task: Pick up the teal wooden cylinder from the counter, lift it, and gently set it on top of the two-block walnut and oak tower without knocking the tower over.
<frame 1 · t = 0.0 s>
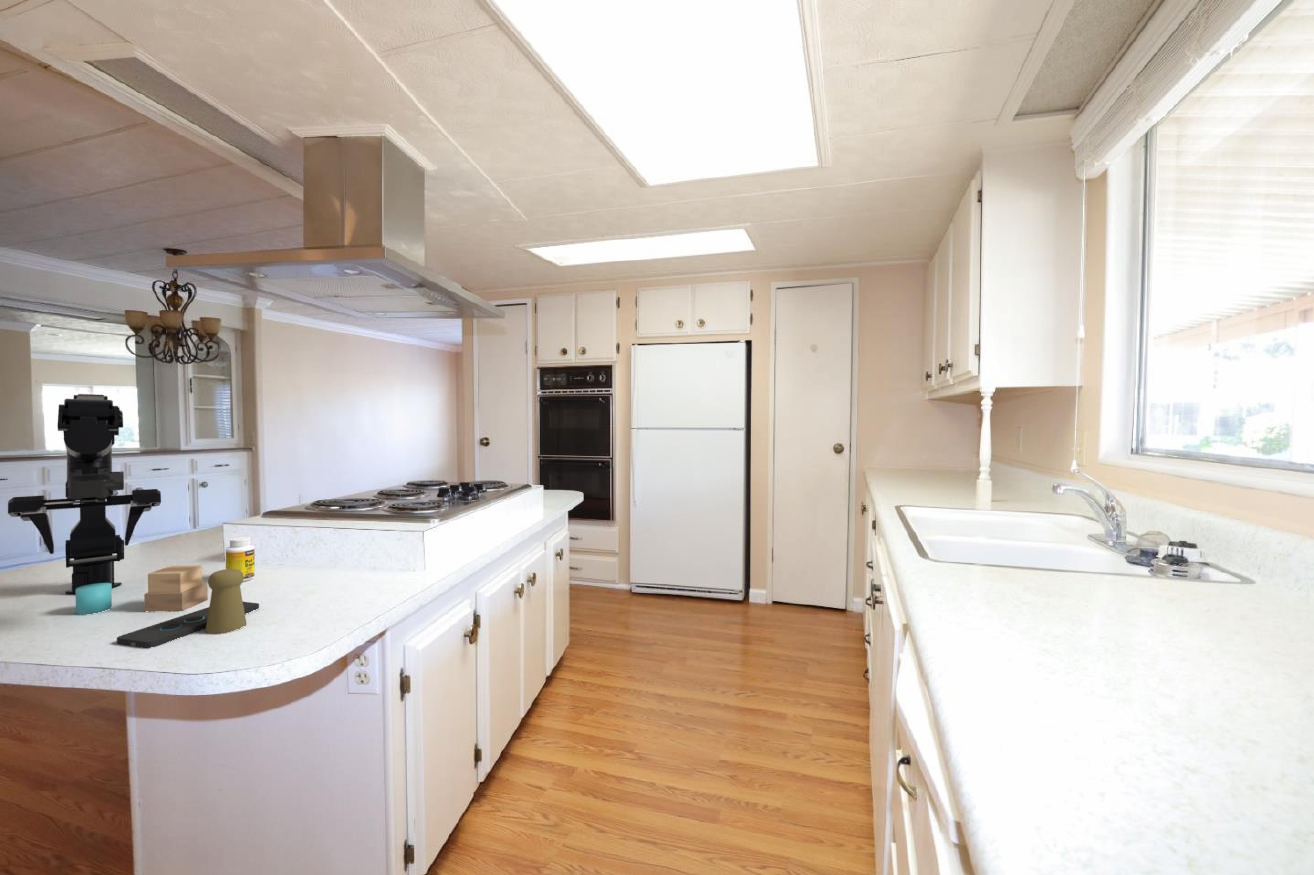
hand: (90, 549, 95), 15 cm above the worktop, tool pointing down, fingers open, 9 cm apart
walnut base block: (177, 607, 111), on the worktop
supplement bottle: (240, 580, 128), on the worktop
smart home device: (194, 628, 101), on the worktop
oak top block: (175, 588, 110), point 4 cm above the worktop
teal cylinder: (94, 610, 107), on the worktop
cork: (226, 628, 100), on the worktop
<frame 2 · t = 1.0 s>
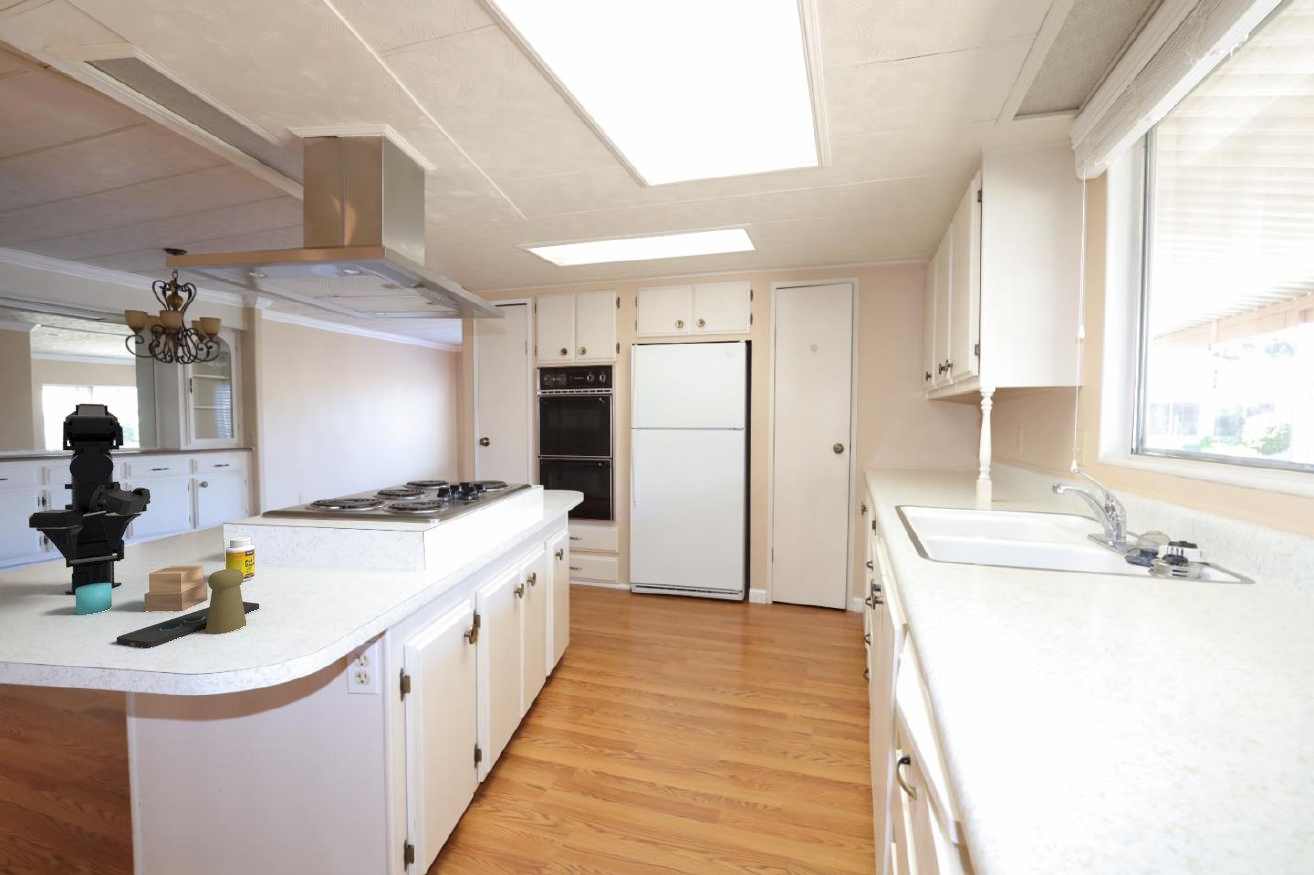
hand: (93, 554, 107), 12 cm above the worktop, tool pointing down, fingers open, 9 cm apart
walnut base block: (177, 607, 111), on the worktop, touching oak top block
oak top block: (177, 588, 110), point 4 cm above the worktop, touching walnut base block
everything else where it was.
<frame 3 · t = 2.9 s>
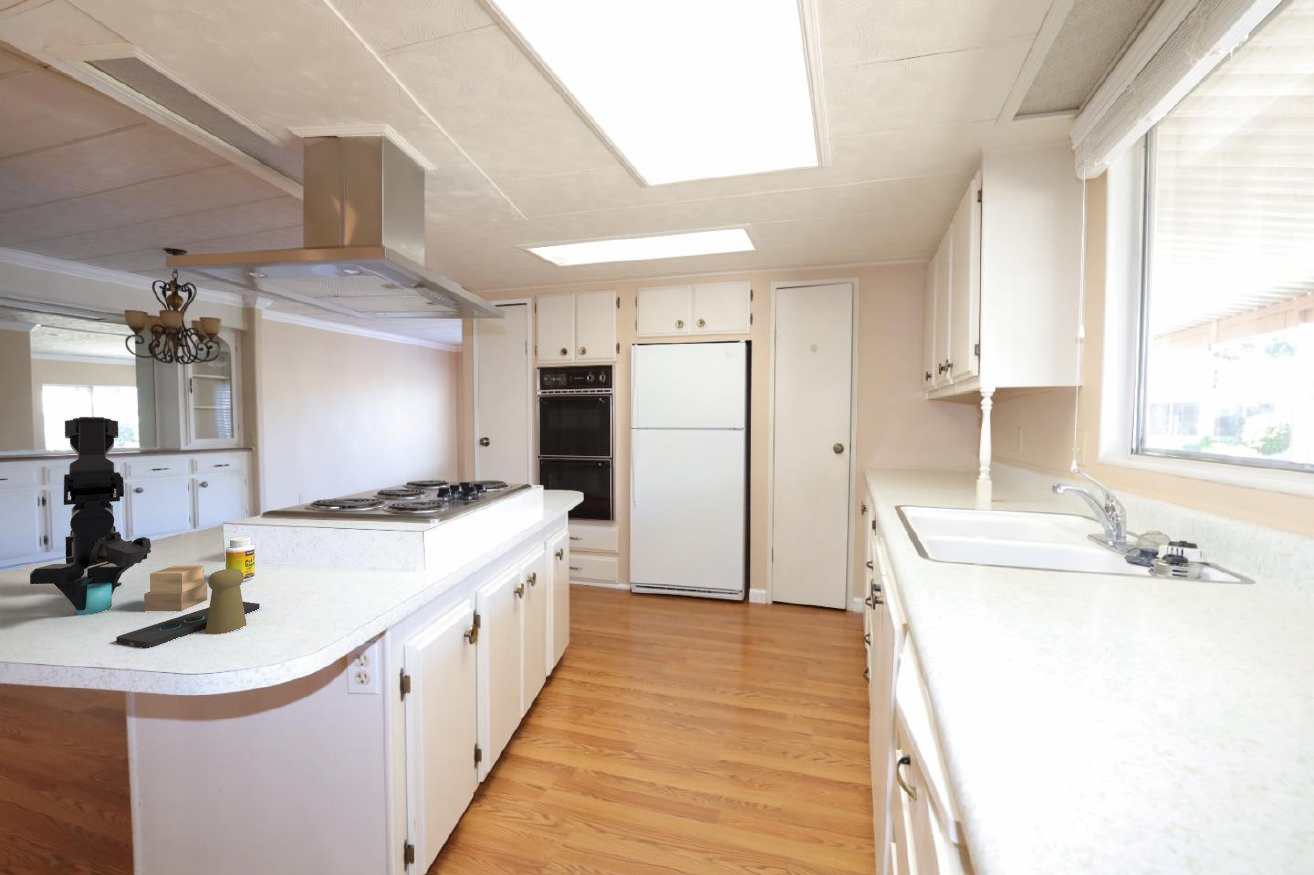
hand: (94, 605, 107), 1 cm above the worktop, tool pointing down, fingers closed on teal cylinder, 5 cm apart
teal cylinder: (94, 610, 107), on the worktop, touching gripper
everything else where it was.
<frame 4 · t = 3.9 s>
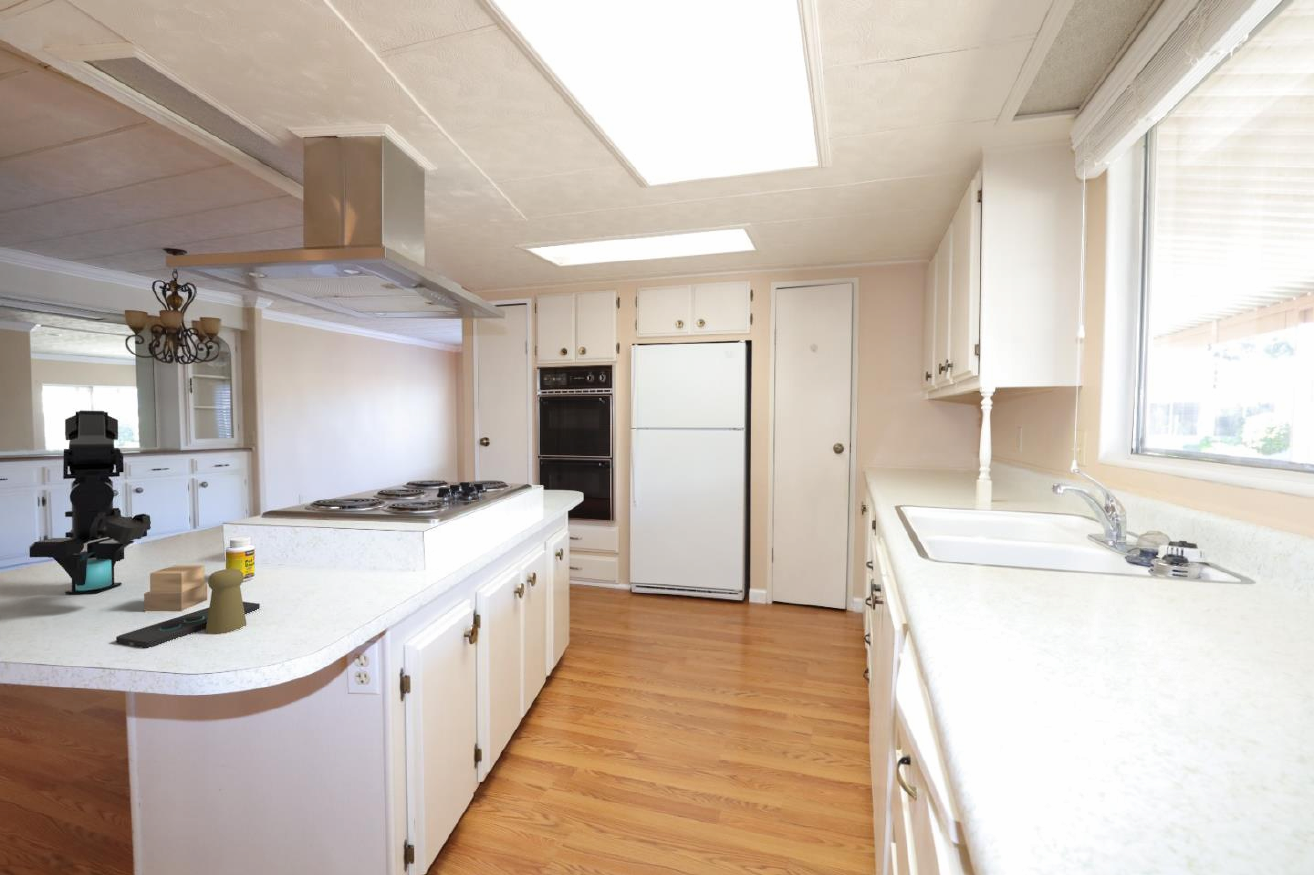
hand: (93, 581, 107), 6 cm above the worktop, tool pointing down, fingers closed on teal cylinder, 5 cm apart
teal cylinder: (93, 586, 107), point 5 cm above the worktop, touching gripper
everything else where it was.
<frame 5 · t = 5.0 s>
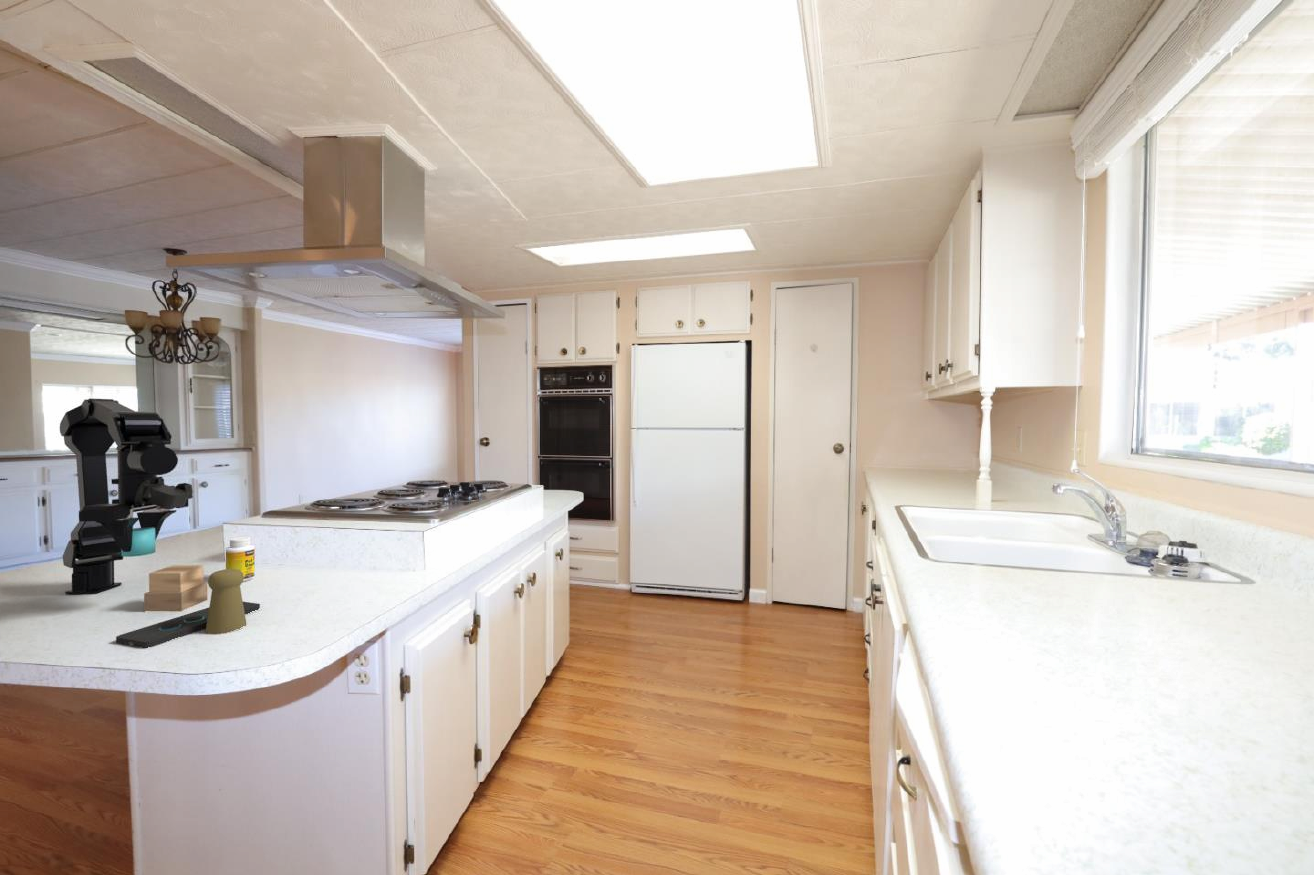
hand: (138, 548, 108), 12 cm above the worktop, tool pointing down, fingers closed on teal cylinder, 5 cm apart
teal cylinder: (138, 553, 108), point 11 cm above the worktop, touching gripper
everything else where it was.
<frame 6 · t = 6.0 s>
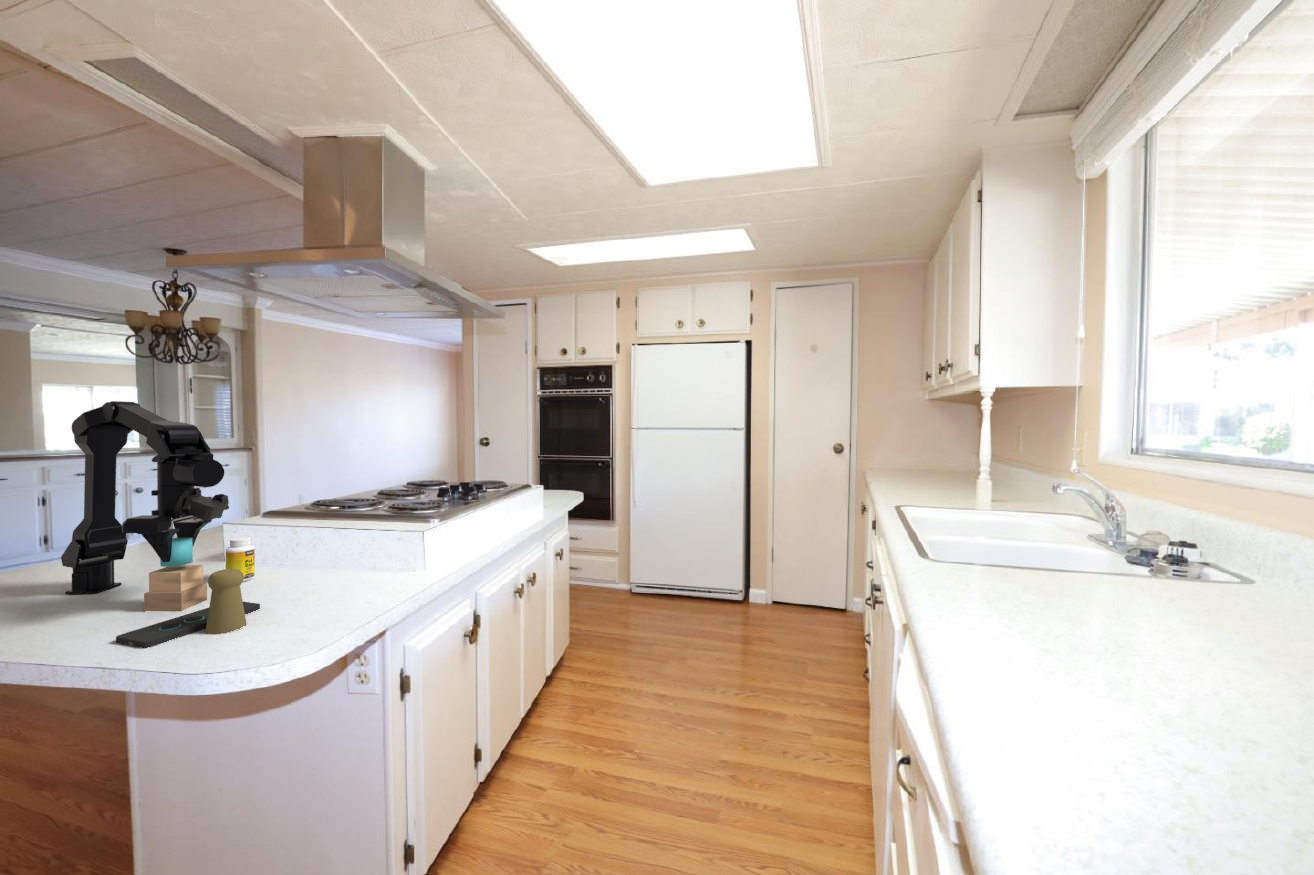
hand: (176, 558, 110), 10 cm above the worktop, tool pointing down, fingers closed on teal cylinder, 5 cm apart
teal cylinder: (176, 563, 110), point 9 cm above the worktop, touching gripper
everything else where it was.
when the fingers open (10 cm above the worktop, at t = 6.6 s): teal cylinder drops 1 cm, resting on oak top block.
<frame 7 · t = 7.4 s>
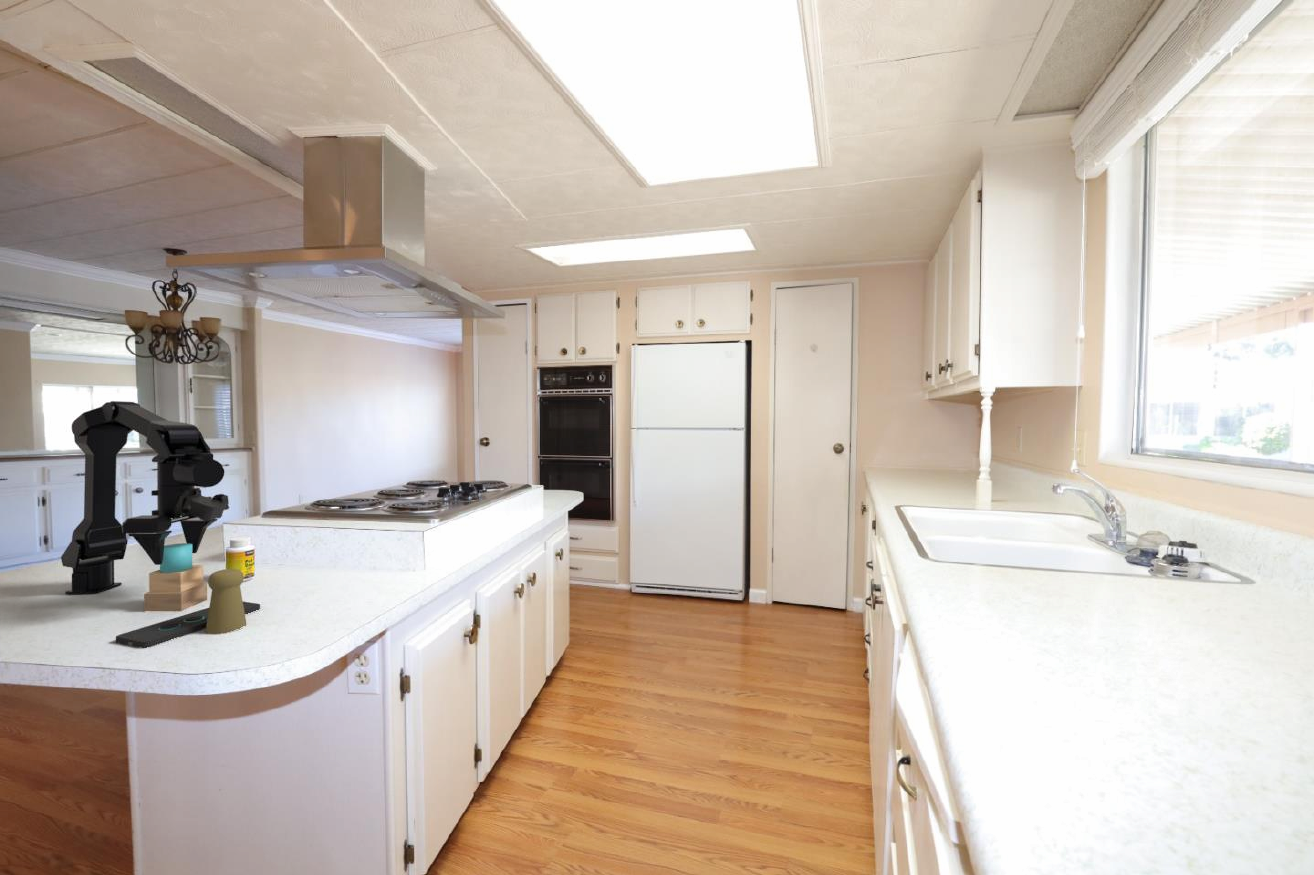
hand: (176, 558, 110), 10 cm above the worktop, tool pointing down, fingers open, 9 cm apart
oak top block: (177, 587, 111), point 4 cm above the worktop, touching teal cylinder, walnut base block
teal cylinder: (176, 569, 110), point 8 cm above the worktop, touching oak top block
everything else where it was.
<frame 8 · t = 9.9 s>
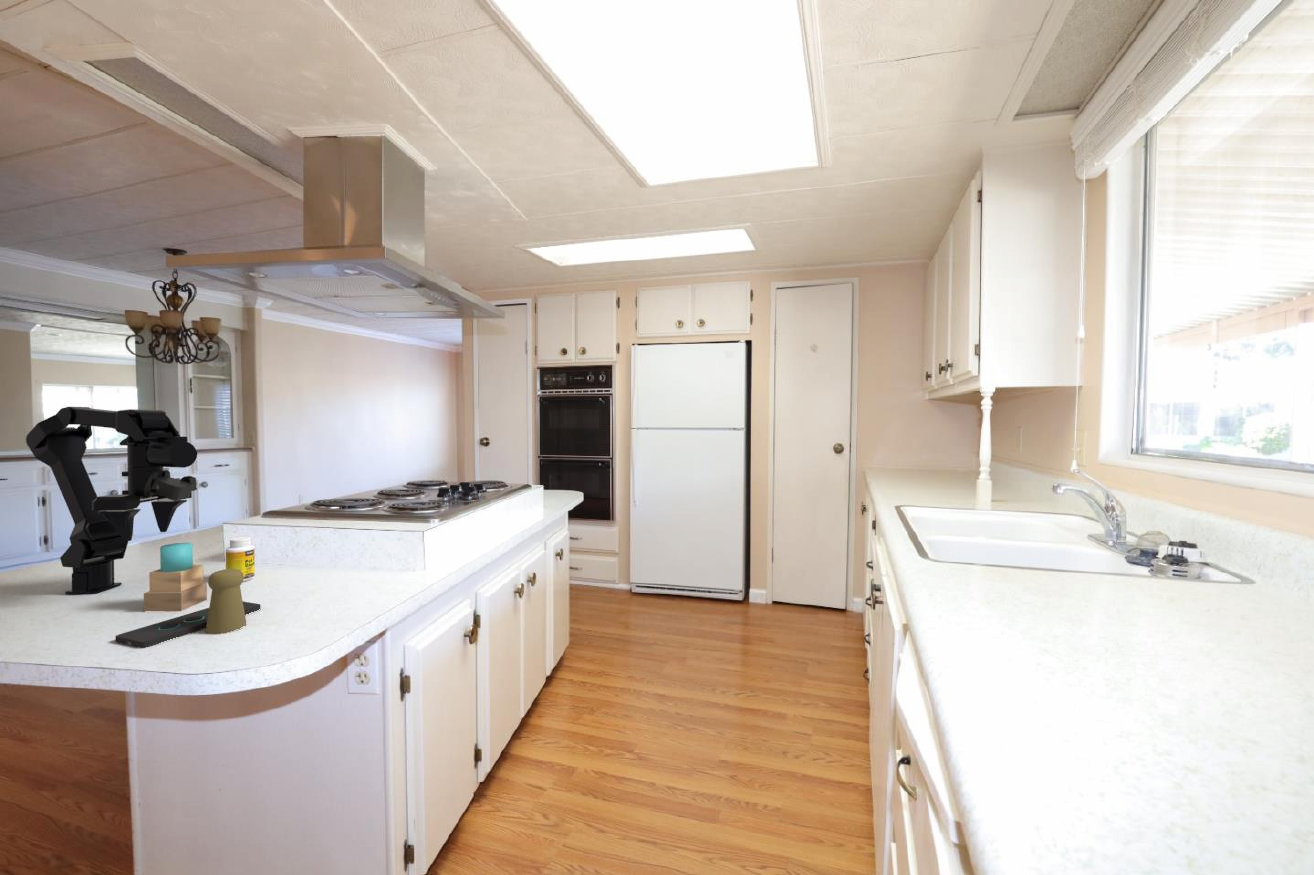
hand: (146, 536, 117), 13 cm above the worktop, tool pointing down, fingers open, 9 cm apart
nothing on the worktop moved.
at the end: teal cylinder 0.2 cm off-centre on the walnut base block, point 8.0 cm above the walnut base block's base; oak top block 0.4 cm off-centre on the walnut base block, point 4.0 cm above the walnut base block's base; teal cylinder tilted 0° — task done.
